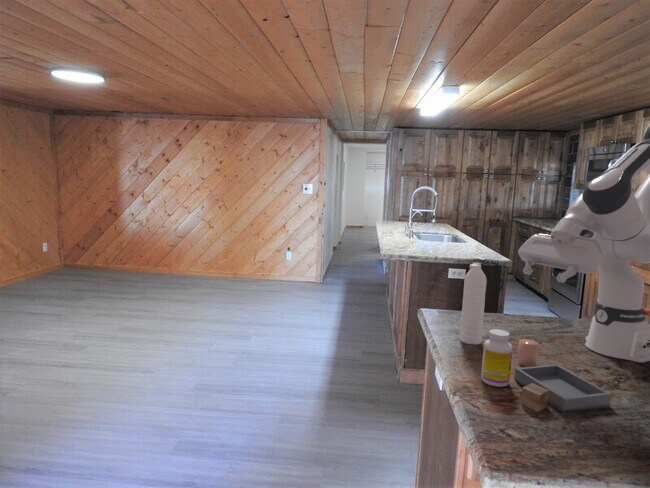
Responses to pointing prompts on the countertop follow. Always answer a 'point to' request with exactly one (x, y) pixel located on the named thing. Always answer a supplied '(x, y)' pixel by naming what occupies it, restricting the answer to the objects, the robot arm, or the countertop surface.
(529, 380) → the tray
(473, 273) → the water bottle
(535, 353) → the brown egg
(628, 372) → the countertop surface
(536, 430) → the countertop surface
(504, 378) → the supplement bottle
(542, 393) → the walnut block
